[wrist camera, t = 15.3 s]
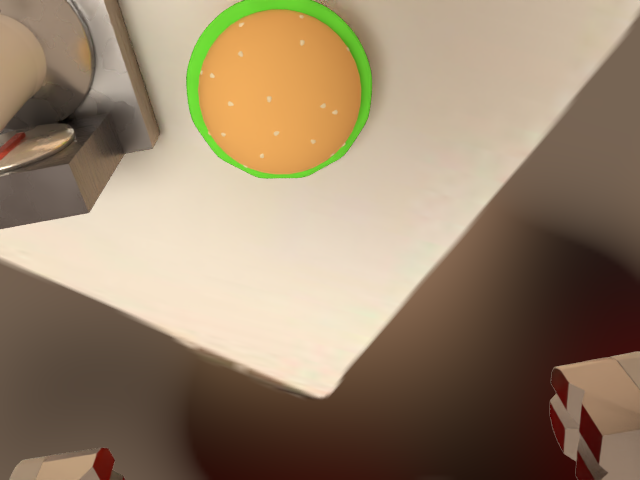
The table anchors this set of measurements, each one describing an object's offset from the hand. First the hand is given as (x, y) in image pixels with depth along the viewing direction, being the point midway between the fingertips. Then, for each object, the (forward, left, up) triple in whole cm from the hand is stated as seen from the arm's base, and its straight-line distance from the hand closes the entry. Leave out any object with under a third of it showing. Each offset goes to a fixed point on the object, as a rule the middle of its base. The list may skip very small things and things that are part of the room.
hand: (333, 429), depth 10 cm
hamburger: (+2, -1, -34) cm, 34 cm away
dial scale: (-2, -17, -34) cm, 38 cm away
